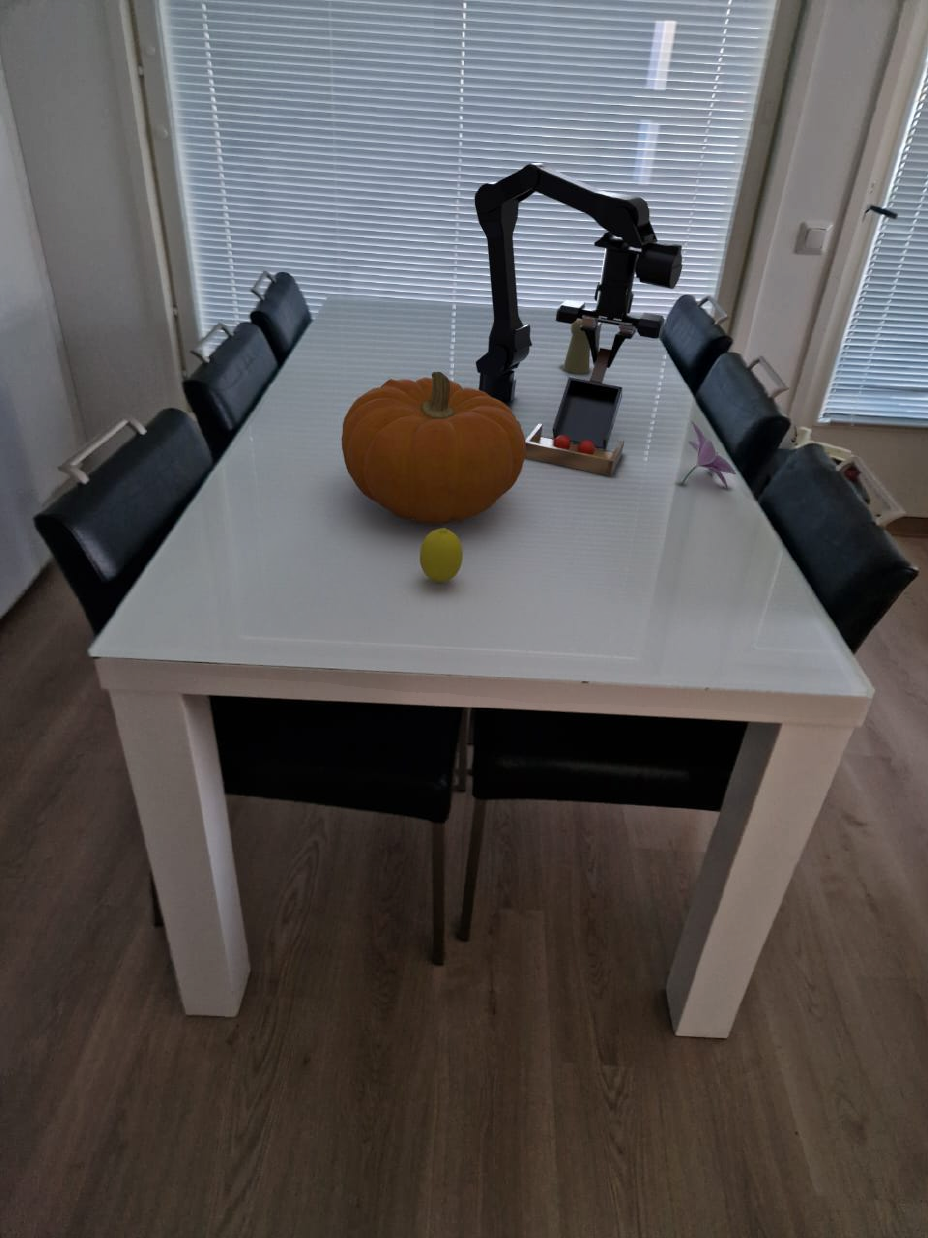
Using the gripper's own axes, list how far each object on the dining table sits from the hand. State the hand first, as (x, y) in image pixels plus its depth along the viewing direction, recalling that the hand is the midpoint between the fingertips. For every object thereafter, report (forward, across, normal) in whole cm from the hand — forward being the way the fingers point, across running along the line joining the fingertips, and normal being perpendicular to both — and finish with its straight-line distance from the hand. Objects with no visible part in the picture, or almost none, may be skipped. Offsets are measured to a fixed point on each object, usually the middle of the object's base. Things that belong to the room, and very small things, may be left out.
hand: (601, 366), depth 153 cm
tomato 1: (+10, +2, +16) cm, 19 cm away
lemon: (+11, +6, +66) cm, 68 cm away
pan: (+6, 0, +3) cm, 7 cm away
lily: (+12, -23, +15) cm, 30 cm away
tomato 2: (+10, -2, +16) cm, 19 cm away
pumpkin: (+12, +16, +44) cm, 49 cm away
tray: (+12, 0, +16) cm, 20 cm away
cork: (+13, +11, -34) cm, 38 cm away
